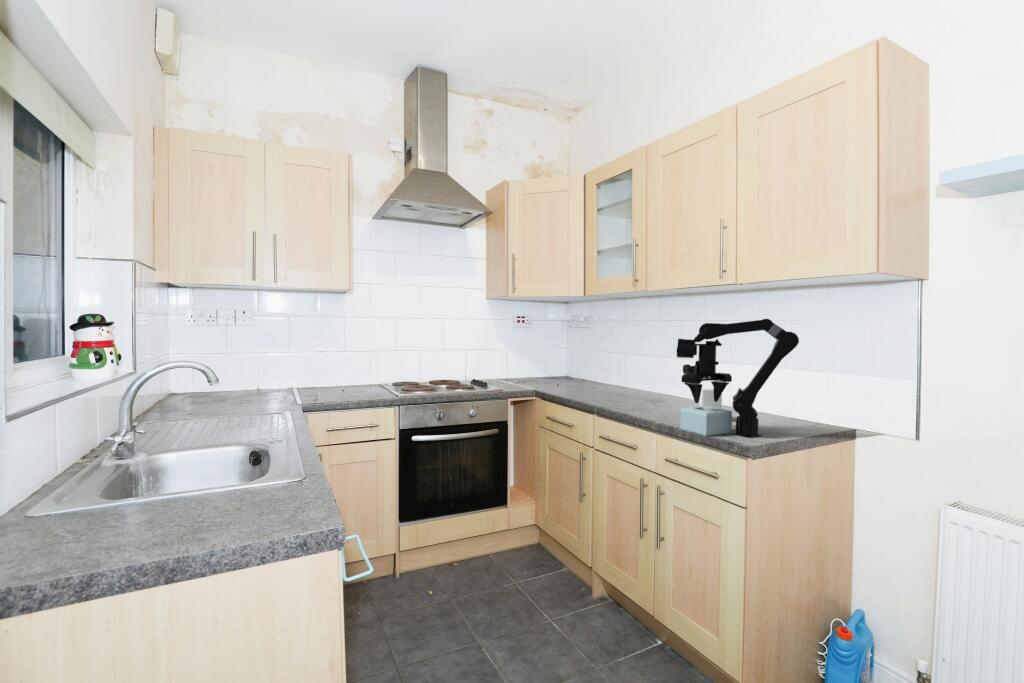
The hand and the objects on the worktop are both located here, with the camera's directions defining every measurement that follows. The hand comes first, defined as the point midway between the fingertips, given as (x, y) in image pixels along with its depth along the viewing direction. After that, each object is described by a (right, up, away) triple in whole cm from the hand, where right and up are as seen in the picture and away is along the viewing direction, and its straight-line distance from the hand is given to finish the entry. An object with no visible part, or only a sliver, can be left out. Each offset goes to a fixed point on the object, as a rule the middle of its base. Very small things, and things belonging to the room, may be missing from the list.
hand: (706, 402), depth 181 cm
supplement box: (+10, -10, +23) cm, 27 cm away
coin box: (0, -11, 0) cm, 10 cm away
